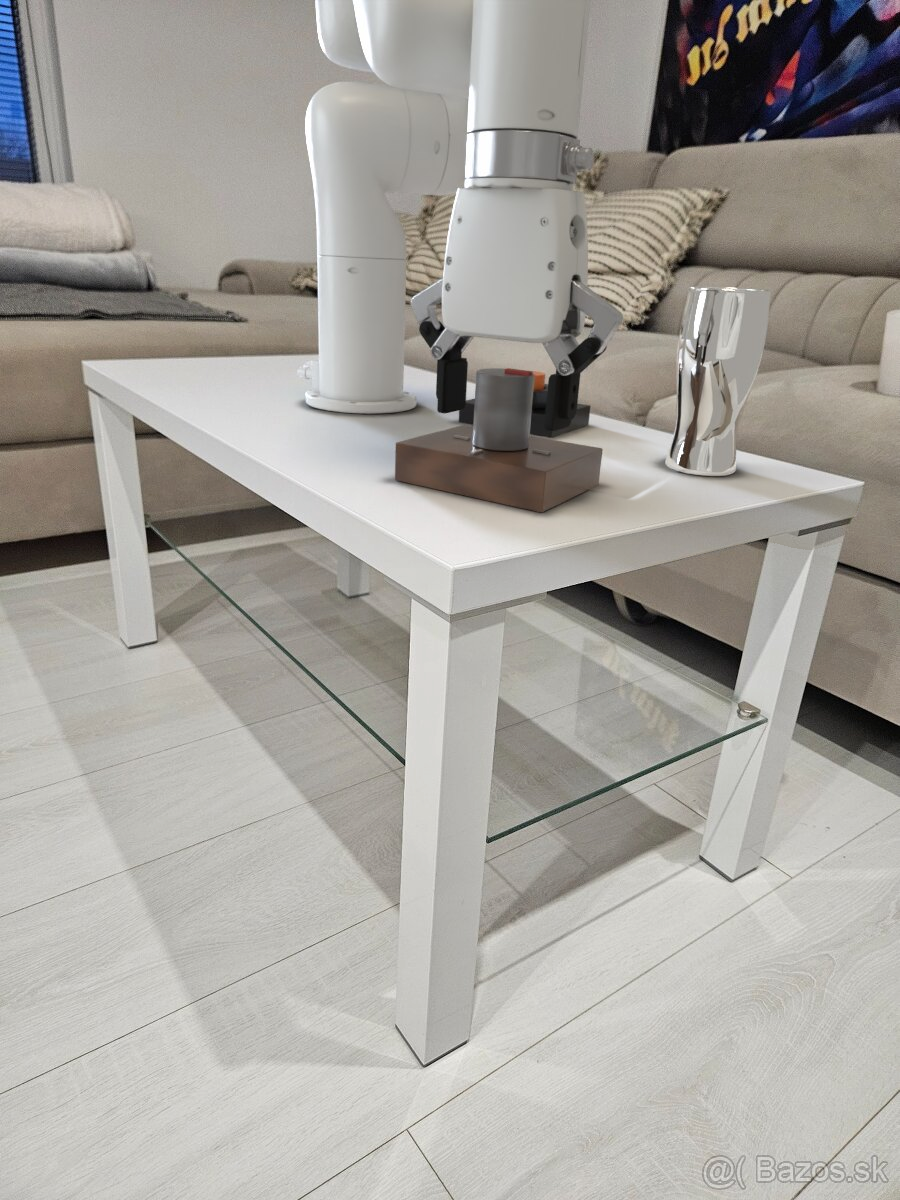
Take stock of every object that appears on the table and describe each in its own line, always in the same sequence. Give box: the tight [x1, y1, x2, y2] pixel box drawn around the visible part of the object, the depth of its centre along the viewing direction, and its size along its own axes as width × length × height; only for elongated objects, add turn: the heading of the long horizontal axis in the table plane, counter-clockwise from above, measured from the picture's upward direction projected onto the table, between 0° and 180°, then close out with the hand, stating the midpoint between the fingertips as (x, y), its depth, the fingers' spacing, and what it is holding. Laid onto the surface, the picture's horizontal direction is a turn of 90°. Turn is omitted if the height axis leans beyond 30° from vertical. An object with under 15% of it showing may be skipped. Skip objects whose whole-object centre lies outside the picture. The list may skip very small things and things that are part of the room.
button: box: [532, 370, 546, 390], centre depth 87 cm, size 4×4×2 cm
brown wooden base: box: [394, 424, 604, 514], centre depth 65 cm, size 13×10×3 cm
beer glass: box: [664, 285, 773, 477], centre depth 70 cm, size 7×7×15 cm
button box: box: [458, 383, 591, 439], centre depth 88 cm, size 11×9×4 cm
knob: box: [472, 367, 535, 451], centre depth 63 cm, size 4×4×6 cm
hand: (502, 419), depth 63 cm, fingers open, 9 cm apart
